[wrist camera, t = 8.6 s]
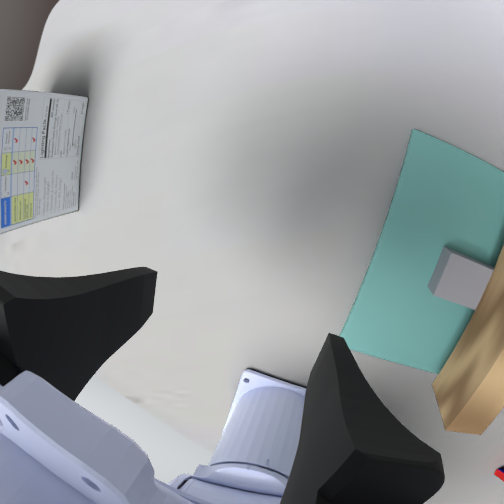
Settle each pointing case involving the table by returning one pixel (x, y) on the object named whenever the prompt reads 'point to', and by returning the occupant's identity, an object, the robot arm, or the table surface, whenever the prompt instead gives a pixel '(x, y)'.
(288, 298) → the table surface
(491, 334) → the bronze bar
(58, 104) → the light bulb box
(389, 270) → the board
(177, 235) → the table surface
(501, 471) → the red blue dreidel
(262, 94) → the table surface
